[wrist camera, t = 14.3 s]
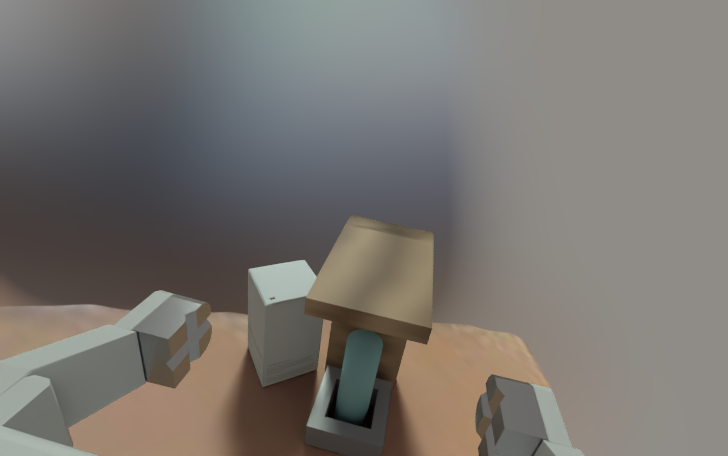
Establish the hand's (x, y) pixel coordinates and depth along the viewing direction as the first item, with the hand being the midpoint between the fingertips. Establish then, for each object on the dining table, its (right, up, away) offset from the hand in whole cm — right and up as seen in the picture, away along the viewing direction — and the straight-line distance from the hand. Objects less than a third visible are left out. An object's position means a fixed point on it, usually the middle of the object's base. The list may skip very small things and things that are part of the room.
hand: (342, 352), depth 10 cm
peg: (-1, -18, +31) cm, 36 cm away
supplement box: (-10, -14, +37) cm, 41 cm away
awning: (-1, -18, +31) cm, 36 cm away
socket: (-1, -18, +31) cm, 36 cm away
